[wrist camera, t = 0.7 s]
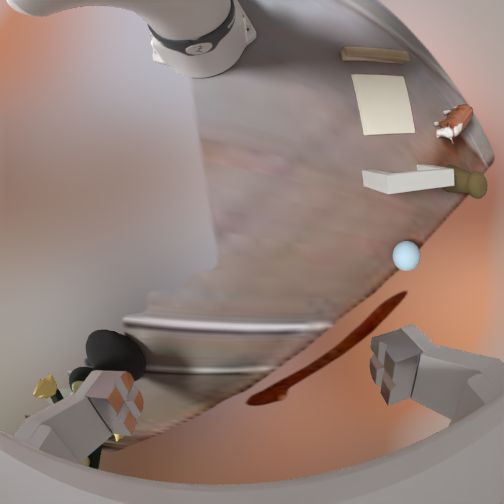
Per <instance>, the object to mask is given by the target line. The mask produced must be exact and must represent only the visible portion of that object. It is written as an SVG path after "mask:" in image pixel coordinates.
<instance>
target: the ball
mask: <svg viewBox="0 0 504 504" xmlns="http://www.w3.org/2000/svg"><path fill="white" fill-rule="evenodd" d="M419 260H420V251H419V249H418V247H417V246H416V245H415V244H414V243H413V242H410V241H403V242H400V243H399V244H398V245H397V246H396V247H395V248H394V251H393V261H394V263H395V265H396V266H397V267H398V268H399V269H401V270H404V271H408V270H412V269H414V268H415V267H416V266H417V265H418V263H419Z"/></svg>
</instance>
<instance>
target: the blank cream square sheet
mask: <svg viewBox="0 0 504 504" xmlns="http://www.w3.org/2000/svg"><path fill="white" fill-rule="evenodd" d="M351 77H352V81H353V85H354V89H355V93H356V98H357V102H358V107H359V112H360V116H361V122H362V127H363V133H364V135H375V134H396V133H415V128H414V122H413V117H412V111H411V106H410V101H409V97H408V92H407V88H406V84H405V80H404V77H403V76H389V75H364V74H351Z"/></svg>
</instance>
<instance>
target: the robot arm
mask: <svg viewBox="0 0 504 504" xmlns="http://www.w3.org/2000/svg"><path fill="white" fill-rule="evenodd" d="M6 1H7V3H8V4H9V5H10V6H11V7H12V8H13V9H14V10H16V11H17V12H19V13H22V14H24V15H28V16H35V17H44V16H48V15H51V14H54V13H57V12H60V11H63V10H67V9H72V8H77V7H83V6H110V7H118V8H124V9H127V10H130V11H133V12H135V13H136V14H138V15H139V16H140V17H141V18H142V19H143V20H144V21H146V23H147V24H148V27H149V29H150V35H151V36H152V41H151V45H152V46H153V59H154V61H155V62H156V63H159V64H164V65H168V66H169V67H171V68H172V69H174V70H175V71H176V72H177V73H179V74H181V75H184V76H187V77H192V78H206V77H211V76H214V75H217V74H220V73H222V72H224V71H226V70H227V69H229V68H230V67H231V66H233V65H234V64H235V63H236V62H237V60H238V59H239V58H240V56H241V54H242V52H243V51H244V49H245V47H246V46H247V45H249V44H250V43H251V42H253V41H254V40H255V39H256V37H257V34H256V31H255V29H254V27H253V26H252V24H251V22H250V20H249V19H248V17H247V15H246V14H245V12H244V10H243V9H242V7H241V5H240V4H239V2H238V0H6ZM247 29H249V31H247ZM371 349H372V351H373V352H374V354H373V355H372V357H371V358H370V372H371V375H372V379H373V380H374V382H375V384H376V385H379V386H381V395H382V396H383V398H384V400H385V402H386V403H387V405H388V406H389V405H392V404H395V403H398V402H401V401H403V400H406V399H409V398H411V399H412V400H414V401H416V402H418V403H420V404H422V405H424V406H426V407H428V408H430V409H431V410H433V411H435V412H437V413H439V414H441V415H443V416H445V417H447V418H449V419H451V422H450V424H449V426H448V427H447V428H445V429H443V430H441V431H439V432H437V433H435V434H433V435H431V436H429V437H427V438H425V439H423V440H421V441H419V442H416V443H414V444H412V445H410V446H407V447H405V448H402V449H400V450H398V451H395V452H393V453H390V454H387V455H384V456H382V457H379V458H376V459H373V460H370V461H367V462H364V463H361V464H357V465H354V466H350V467H347V468H343V469H339V470H336V471H332V472H327V473H323V474H318V475H313V476H308V477H302V478H296V479H290V480H283V481H275V482H266V483H256V484H236V485H199V484H181V483H170V482H161V481H153V480H146V479H140V478H134V477H129V476H124V475H119V474H114V473H110V472H106V471H102V470H98V469H94V468H91V467H87V466H84V465H83V464H82V463H81V461H83V460H84V459H85V458H86V457H87V456H89V455H90V454H91V453H92V452H93V451H94V450H96V449H97V448H98V447H99V446H100V445H101V444H103V443H104V442H105V441H106V440H107V439H108V438H109V437H111V436H112V434H119V435H130V436H132V434H133V432H134V430H135V427H136V425H137V420H136V418H137V417H138V416H139V415H141V413H142V411H143V404H144V401H143V397H142V394H141V392H140V390H139V389H137V388H136V387H135V386H134V385H133V384H134V379H133V377H132V375H131V373H129V372H127V371H103V370H95V371H92V372H91V373H90V374H89V376H88V377H87V378H86V379H85V381H84V382H83V383H82V385H81V386H80V387H79V389H78V390H77V391H76V393H75V394H74V395H70V396H68V397H66V398H64V399H62V400H60V401H59V402H57V403H55V404H53V405H51V406H49V407H47V408H45V409H43V410H42V411H40V412H38V413H36V414H34V415H32V416H30V417H28V418H27V419H26V420H25V421H24V423H23V424H22V425H21V427H20V428H19V429H18V431H17V432H16V433H15V435H14V436H13V437H12V436H10V435H8V434H6V433H4V432H3V431H1V430H0V504H504V363H503V362H502V361H501V360H500V359H497V358H492V357H487V356H483V355H478V354H474V353H470V352H466V351H461V350H457V349H453V348H449V347H445V346H439V347H437V346H436V345H435V344H434V343H433V342H432V341H431V340H430V339H429V338H428V337H427V336H426V335H424V333H422V332H421V331H420V330H419V329H418V328H417V327H416V326H415V325H412V324H411V325H408V326H405V327H403V328H400V329H398V330H395V331H392V332H389V333H386V334H382V335H379V336H375V337H372V340H371Z"/></svg>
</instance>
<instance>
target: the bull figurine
mask: <svg viewBox="0 0 504 504" xmlns="http://www.w3.org/2000/svg"><path fill="white" fill-rule="evenodd" d="M448 113H449V114H448ZM446 114H448V116H447V118H446V120H444V121H442V122H438V121H437V122H434V123H433V125H434V126H438V125H440V126H442V128H441V129H440V130H439V129H438V130H436V133H437V134H436V138H439V137H441V136H442V137H447V138H449V139H450V142H451V143H452V144H454V143H453V140H452V138H455V137H457V136H459V135H460V134H461V132H462V131H463V130H464V129H465V127H466V126H467V124H468V122H469V121H470V120H471V118H472V116H473V108H472V107H470V106H469V105H466V104H463V105H459V106H455V107H453V108H452V109H451V110H446V111H443V115H446Z"/></svg>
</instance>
